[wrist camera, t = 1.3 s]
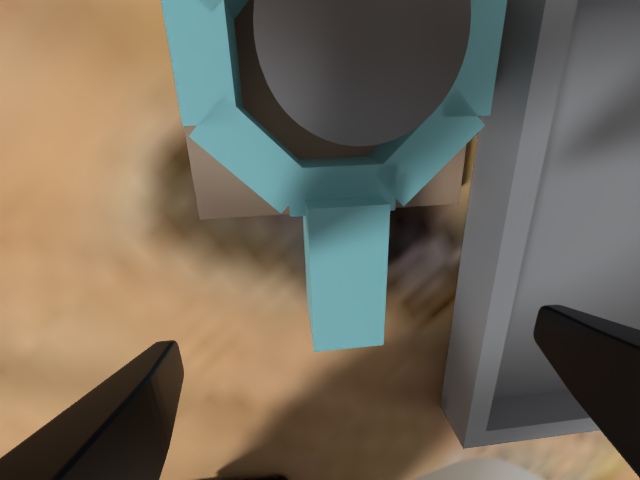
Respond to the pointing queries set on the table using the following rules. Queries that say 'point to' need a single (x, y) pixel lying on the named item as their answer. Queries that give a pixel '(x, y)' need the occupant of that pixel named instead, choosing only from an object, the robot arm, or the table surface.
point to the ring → (327, 162)
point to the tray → (547, 214)
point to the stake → (339, 86)
